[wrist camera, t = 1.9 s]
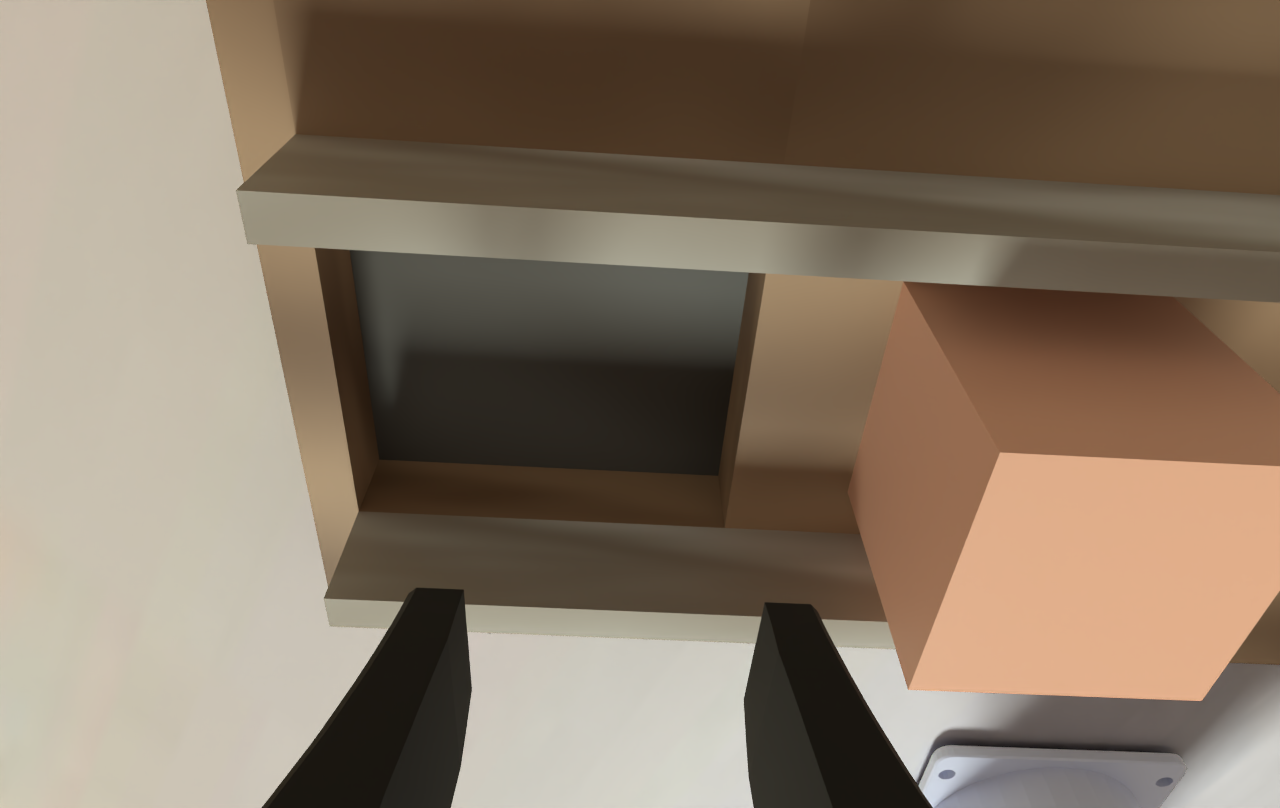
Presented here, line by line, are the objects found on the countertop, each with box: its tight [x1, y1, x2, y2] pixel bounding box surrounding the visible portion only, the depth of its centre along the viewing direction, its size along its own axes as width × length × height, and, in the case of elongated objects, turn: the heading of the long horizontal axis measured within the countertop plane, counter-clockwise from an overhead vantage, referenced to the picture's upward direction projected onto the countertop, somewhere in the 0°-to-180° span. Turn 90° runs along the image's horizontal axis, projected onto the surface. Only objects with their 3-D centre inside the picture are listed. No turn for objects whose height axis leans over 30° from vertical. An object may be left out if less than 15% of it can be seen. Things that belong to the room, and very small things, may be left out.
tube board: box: [206, 0, 1280, 665], centre depth 17 cm, size 15×30×4 cm, turn 86°
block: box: [848, 281, 1280, 701], centre depth 15 cm, size 5×5×5 cm
